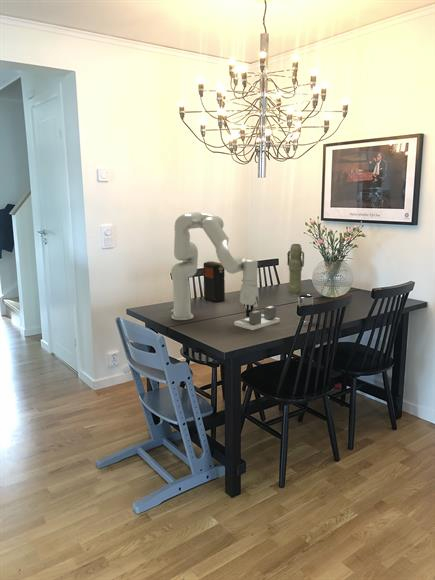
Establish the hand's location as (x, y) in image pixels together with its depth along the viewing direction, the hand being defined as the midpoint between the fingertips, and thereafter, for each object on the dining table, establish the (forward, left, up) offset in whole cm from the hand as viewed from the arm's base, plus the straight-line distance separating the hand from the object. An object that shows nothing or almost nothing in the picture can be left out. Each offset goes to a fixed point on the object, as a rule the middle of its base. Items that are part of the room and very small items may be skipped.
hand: (249, 316), depth 246 cm
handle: (+3, +13, -3) cm, 14 cm away
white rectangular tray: (0, +7, -5) cm, 8 cm away
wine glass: (+17, +26, -5) cm, 31 cm away
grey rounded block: (+4, 0, -3) cm, 5 cm away
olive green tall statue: (-31, +79, -5) cm, 84 cm away
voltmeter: (-59, +29, -6) cm, 65 cm away
